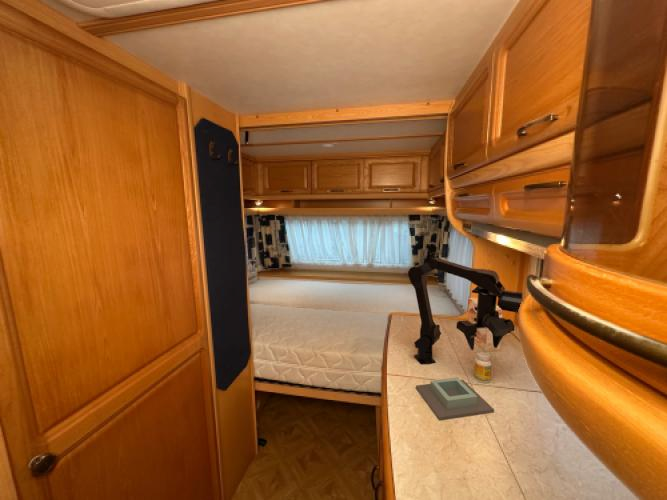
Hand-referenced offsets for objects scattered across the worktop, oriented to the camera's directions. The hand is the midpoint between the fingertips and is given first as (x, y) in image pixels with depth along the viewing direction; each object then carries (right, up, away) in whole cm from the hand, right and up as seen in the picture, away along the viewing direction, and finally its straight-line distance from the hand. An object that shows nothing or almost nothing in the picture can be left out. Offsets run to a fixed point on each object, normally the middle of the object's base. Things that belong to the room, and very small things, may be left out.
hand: (483, 348), depth 97 cm
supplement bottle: (0, -12, +2) cm, 12 cm away
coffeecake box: (+15, -8, +29) cm, 33 cm away
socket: (-15, -14, -9) cm, 22 cm away
